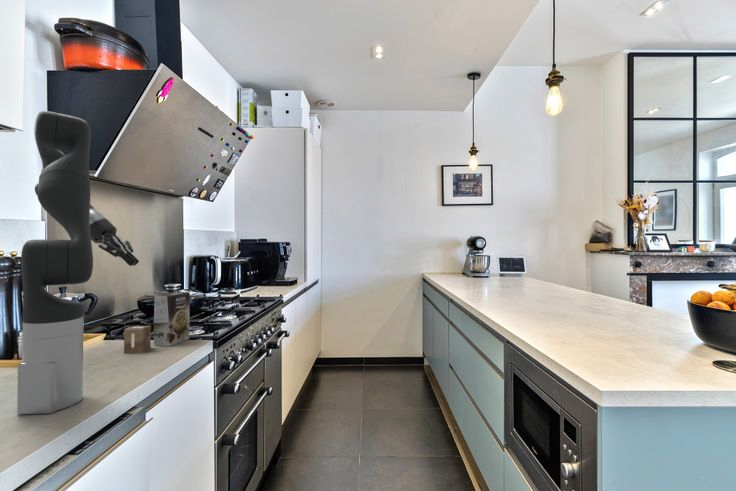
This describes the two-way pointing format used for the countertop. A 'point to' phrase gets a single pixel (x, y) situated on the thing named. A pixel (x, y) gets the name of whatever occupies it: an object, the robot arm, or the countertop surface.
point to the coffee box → (171, 318)
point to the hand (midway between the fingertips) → (134, 263)
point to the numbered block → (137, 339)
